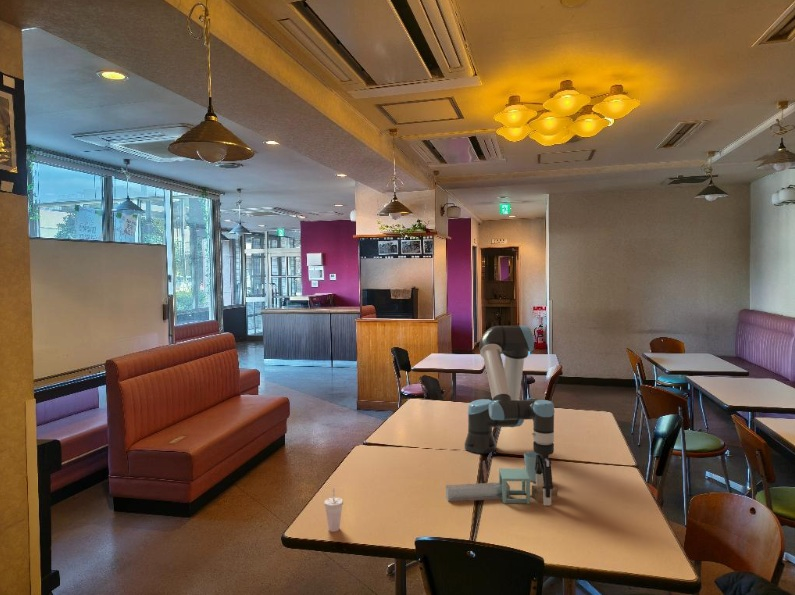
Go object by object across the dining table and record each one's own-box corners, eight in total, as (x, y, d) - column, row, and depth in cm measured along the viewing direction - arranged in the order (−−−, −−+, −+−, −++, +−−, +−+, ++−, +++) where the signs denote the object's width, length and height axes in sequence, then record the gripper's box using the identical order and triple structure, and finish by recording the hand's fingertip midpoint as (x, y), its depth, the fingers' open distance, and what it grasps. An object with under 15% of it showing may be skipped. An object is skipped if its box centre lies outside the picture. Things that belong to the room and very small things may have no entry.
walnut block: (531, 496, 201) (531, 485, 201) (551, 495, 202) (551, 483, 202) (537, 502, 196) (537, 490, 196) (557, 500, 197) (557, 488, 197)
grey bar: (445, 497, 201) (445, 485, 201) (506, 494, 203) (506, 482, 203) (447, 502, 197) (447, 489, 197) (509, 499, 199) (509, 486, 199)
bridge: (499, 492, 205) (499, 468, 204) (524, 492, 204) (524, 468, 204) (502, 503, 195) (502, 478, 194) (530, 503, 194) (530, 478, 194)
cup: (538, 484, 212) (538, 459, 211) (520, 480, 217) (520, 455, 216) (545, 478, 218) (546, 454, 217) (528, 474, 222) (528, 450, 222)
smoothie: (344, 524, 180) (343, 484, 180) (342, 533, 174) (342, 492, 173) (325, 524, 180) (324, 484, 179) (323, 534, 174) (322, 492, 173)
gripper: (527, 431, 210) (527, 484, 211) (540, 452, 186) (540, 512, 187) (546, 432, 210) (545, 484, 211) (562, 452, 186) (561, 512, 187)
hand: (543, 497), depth 199 cm, fingers open, 12 cm apart
